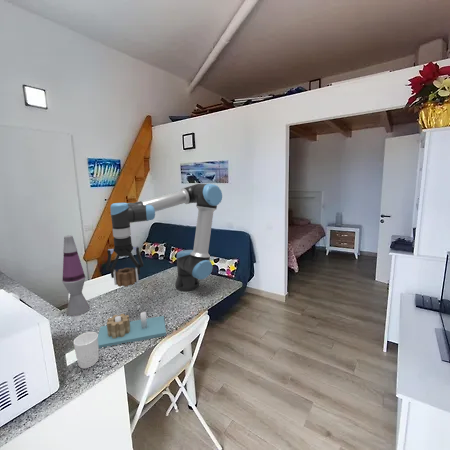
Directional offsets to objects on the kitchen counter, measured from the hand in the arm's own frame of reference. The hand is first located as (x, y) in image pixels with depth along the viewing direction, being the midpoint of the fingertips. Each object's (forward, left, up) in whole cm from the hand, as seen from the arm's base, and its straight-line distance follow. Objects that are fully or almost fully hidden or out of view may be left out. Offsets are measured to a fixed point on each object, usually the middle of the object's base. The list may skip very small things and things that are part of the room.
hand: (126, 282), depth 119 cm
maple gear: (+4, +13, -17) cm, 22 cm away
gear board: (-2, +13, -19) cm, 23 cm away
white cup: (+13, +27, -19) cm, 36 cm away
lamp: (+26, -16, -19) cm, 36 cm away
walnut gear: (0, 0, 0) cm, 0 cm away
